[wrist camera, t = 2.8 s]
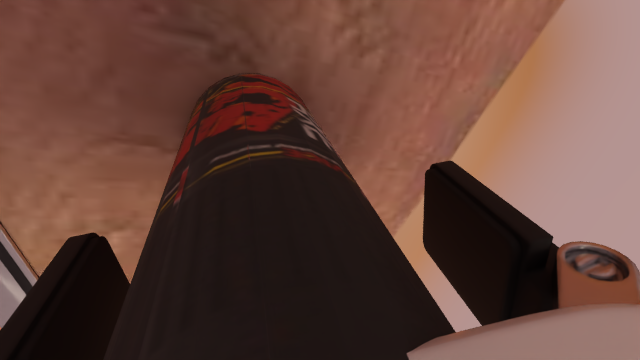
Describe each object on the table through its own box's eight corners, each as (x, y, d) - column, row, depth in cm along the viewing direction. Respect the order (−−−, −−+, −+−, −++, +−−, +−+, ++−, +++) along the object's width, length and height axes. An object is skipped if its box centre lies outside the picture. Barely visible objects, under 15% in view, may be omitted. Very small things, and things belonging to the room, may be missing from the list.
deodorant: (330, 101, 17) (622, 415, 4) (285, 199, 19) (391, 614, 6) (211, 51, 15) (70, 389, 2) (174, 168, 17) (-11, 705, 4)
